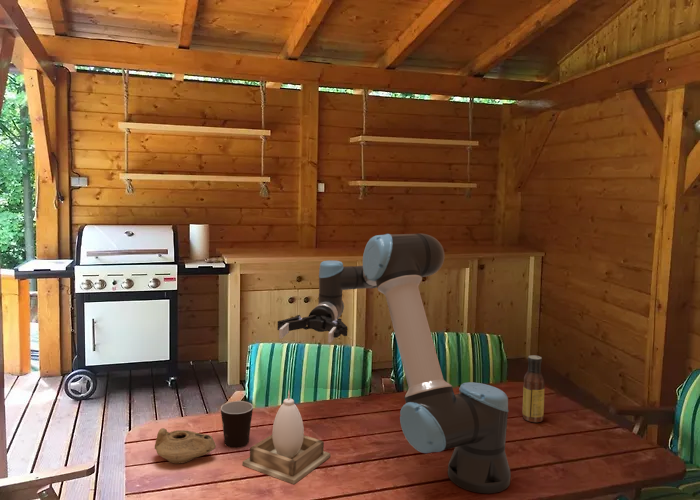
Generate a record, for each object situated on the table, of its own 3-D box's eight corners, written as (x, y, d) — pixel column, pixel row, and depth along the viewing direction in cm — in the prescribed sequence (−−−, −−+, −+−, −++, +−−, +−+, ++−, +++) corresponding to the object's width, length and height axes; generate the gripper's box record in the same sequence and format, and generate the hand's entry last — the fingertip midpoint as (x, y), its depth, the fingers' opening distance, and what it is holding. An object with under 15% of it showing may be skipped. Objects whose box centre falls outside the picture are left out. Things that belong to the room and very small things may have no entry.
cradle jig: (330, 456, 150) (330, 440, 149) (293, 484, 136) (294, 466, 136) (281, 440, 158) (281, 425, 157) (242, 465, 144) (242, 448, 144)
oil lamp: (216, 465, 144) (216, 435, 143) (153, 472, 140) (153, 441, 139) (214, 445, 154) (214, 417, 153) (155, 451, 150) (155, 422, 149)
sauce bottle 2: (266, 455, 147) (267, 388, 145) (291, 446, 153) (292, 382, 150) (283, 468, 142) (285, 398, 139) (309, 458, 147) (310, 391, 144)
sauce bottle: (545, 418, 178) (550, 356, 176) (540, 425, 173) (545, 362, 170) (524, 413, 182) (528, 352, 179) (518, 419, 177) (523, 357, 174)
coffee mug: (245, 451, 151) (245, 415, 150) (215, 447, 153) (215, 411, 152) (261, 432, 163) (261, 398, 161) (232, 428, 164) (232, 395, 163)
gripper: (362, 332, 173) (350, 353, 152) (283, 325, 177) (260, 345, 157) (363, 307, 172) (350, 326, 151) (283, 302, 176) (260, 318, 156)
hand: (304, 336), depth 154 cm, fingers open, 13 cm apart
